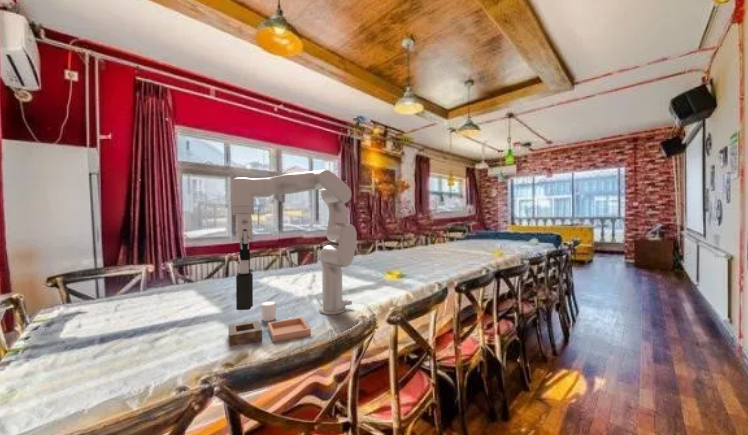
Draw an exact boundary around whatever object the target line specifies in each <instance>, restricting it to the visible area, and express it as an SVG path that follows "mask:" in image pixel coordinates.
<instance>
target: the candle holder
mask: <svg viewBox="0 0 748 435" xmlns="http://www.w3.org/2000/svg"><path fill="white" fill-rule="evenodd" d="M261 341H262V342H263V329H262V326H261V324H260V320H259V319H258V320H252V321H246V322H239V323H238V322H237V323H233V324H228V342H229V347H235V345H236V346H240V345H247V344H251V343H257V342H261Z"/></svg>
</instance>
